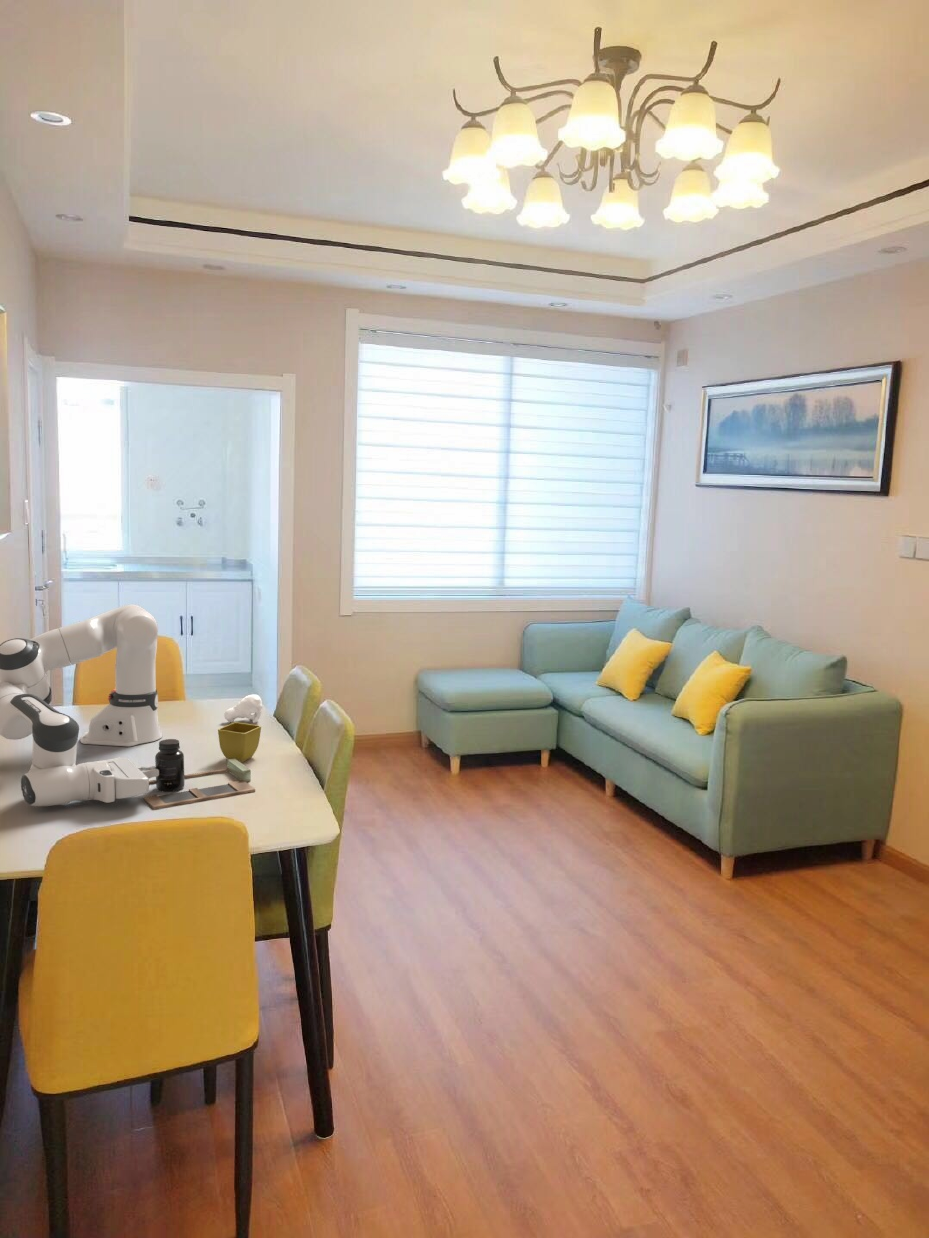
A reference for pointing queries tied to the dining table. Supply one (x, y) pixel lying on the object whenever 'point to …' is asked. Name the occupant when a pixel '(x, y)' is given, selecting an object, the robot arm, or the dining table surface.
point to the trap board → (206, 793)
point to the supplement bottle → (170, 766)
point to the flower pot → (239, 740)
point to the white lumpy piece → (245, 709)
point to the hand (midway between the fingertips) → (157, 770)
